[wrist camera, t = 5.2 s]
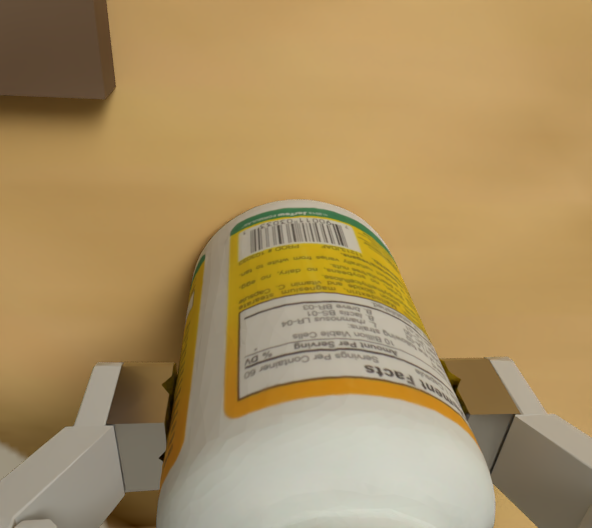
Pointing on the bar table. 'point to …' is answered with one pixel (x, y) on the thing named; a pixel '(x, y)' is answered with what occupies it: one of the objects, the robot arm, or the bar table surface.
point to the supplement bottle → (313, 388)
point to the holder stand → (55, 49)
